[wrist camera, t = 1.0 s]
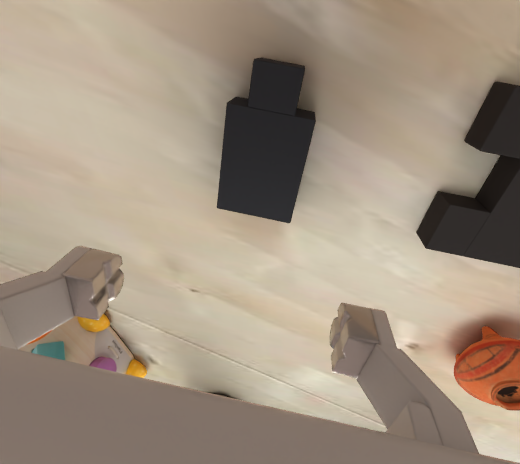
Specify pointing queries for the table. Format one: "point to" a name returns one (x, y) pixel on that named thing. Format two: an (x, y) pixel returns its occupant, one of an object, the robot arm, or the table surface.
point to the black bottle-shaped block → (265, 143)
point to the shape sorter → (87, 346)
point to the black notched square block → (484, 190)
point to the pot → (491, 370)
